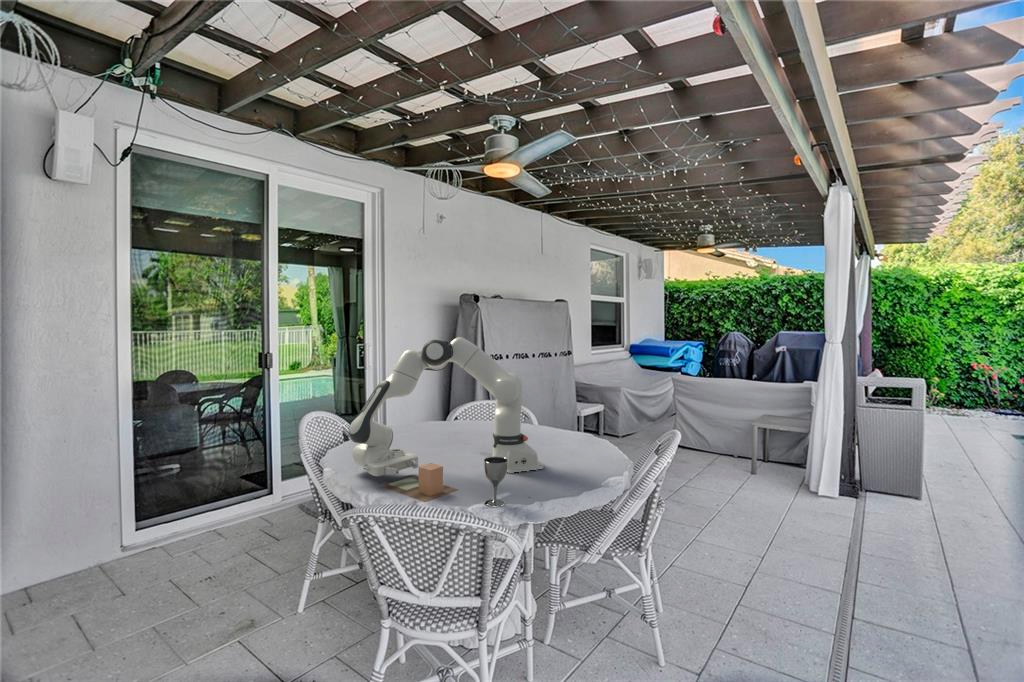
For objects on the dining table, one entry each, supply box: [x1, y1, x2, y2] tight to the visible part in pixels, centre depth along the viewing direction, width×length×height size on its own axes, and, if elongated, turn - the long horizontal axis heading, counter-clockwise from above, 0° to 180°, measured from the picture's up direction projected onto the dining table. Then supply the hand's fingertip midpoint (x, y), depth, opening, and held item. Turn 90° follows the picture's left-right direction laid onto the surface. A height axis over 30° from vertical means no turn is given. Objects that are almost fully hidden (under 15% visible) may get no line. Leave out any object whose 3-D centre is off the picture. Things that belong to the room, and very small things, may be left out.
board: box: [380, 475, 459, 503], centre depth 186 cm, size 24×16×1 cm, turn 52°
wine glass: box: [483, 456, 508, 506], centre depth 174 cm, size 8×8×15 cm
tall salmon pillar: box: [418, 462, 444, 496], centre depth 182 cm, size 6×6×9 cm
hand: (407, 468), depth 189 cm, fingers open, 8 cm apart
